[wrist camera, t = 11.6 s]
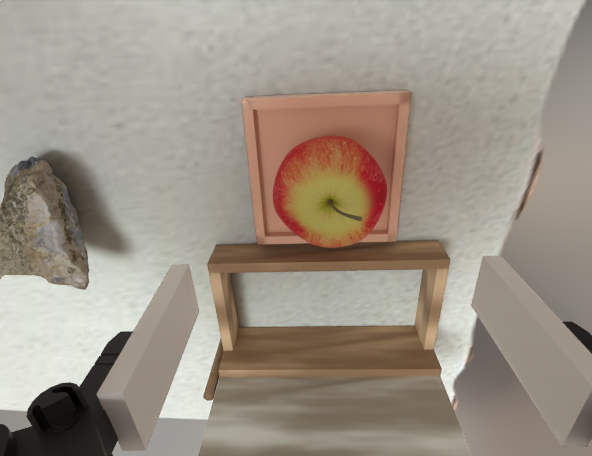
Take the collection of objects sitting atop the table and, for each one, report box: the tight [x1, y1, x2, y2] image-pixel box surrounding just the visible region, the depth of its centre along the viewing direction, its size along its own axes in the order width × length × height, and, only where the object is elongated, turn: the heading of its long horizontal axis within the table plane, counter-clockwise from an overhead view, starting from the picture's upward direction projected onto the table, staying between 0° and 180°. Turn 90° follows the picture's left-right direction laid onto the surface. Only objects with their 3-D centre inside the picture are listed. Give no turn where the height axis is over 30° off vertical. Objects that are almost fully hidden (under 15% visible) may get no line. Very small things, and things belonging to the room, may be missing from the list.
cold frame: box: [199, 240, 472, 456], centre depth 32 cm, size 13×23×14 cm, turn 92°
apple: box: [273, 136, 387, 248], centre depth 26 cm, size 8×8×10 cm
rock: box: [0, 157, 89, 290], centre depth 32 cm, size 11×6×10 cm
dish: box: [242, 90, 411, 244], centre depth 31 cm, size 13×13×2 cm
